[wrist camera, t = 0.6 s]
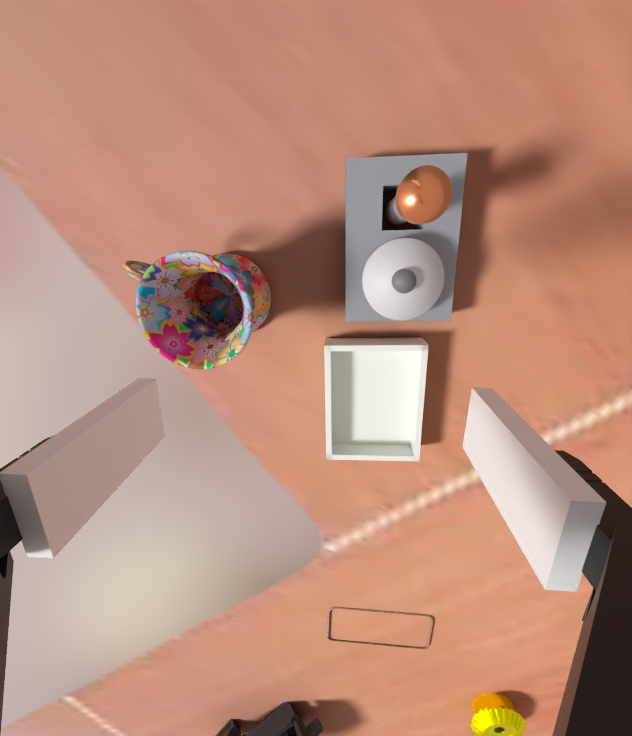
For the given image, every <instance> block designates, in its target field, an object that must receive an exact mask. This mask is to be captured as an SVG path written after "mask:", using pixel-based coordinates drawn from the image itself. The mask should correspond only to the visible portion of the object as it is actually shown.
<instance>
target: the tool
mask: <svg viewBox="0 0 632 736" xmlns="http://www.w3.org/2000/svg"><path fill="white" fill-rule="evenodd" d="M322 732H323V727H322V725H321V723H320V721H319V719H318V718H317V717H316V718H315V719H314V720H313V721H312V722H311V723H310V724H309V725H308V726H307V727H306V728H305V725H304V723H303V721H302V720H301V719H300V717H299V716H298V715H297V713H296V712H295V710H294V709H293V708H292V706H291V705H290V704H289V703H285V702H284V703H283V704H282V705H281V706H280V707H278V708H277V709H276V710H275V711H274V712H273V713H272V714H270V715H269V716H268V717H267V718H266V719H265V720H264V721H262V722H261V723H260V724H259V725H258V726H257V727H256V728H254V729H253V730H252V731H251V732H250V733H249V734H248V735H247V734H243V735H242V736H318V735H319V734H320V733H322ZM216 736H241V732H240V729H239V727H238V726H237V725H236V724H235V723H234V721H233V720H232V719H230V721H229V722H228V723H227V724H226V725H225V726H224V727H223V728H222V729H221V730H220V731H219V733H218V734H217V735H216Z"/></svg>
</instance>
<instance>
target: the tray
mask: <svg viewBox="0 0 632 736" xmlns="http://www.w3.org/2000/svg"><path fill="white" fill-rule="evenodd" d="M428 346H429V345H428V344H427V343H426V341H425V340H424V339H423V338H326V339H325V345H324V353H325V410H326V459H333V460H384V461H419V457H420V445H421V432H422V420H423V408H424V395H425V383H426V371H427V358H428Z"/></svg>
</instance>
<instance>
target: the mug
mask: <svg viewBox="0 0 632 736" xmlns="http://www.w3.org/2000/svg"><path fill="white" fill-rule="evenodd" d="M123 270H124V272H125V273H126V274H127V275H128V276H130V277H131V278H133V279H135V280H137V281H139V282H140V284H139V287H138V290H137V296H136V310H137V316H138V320H139V323H140V326H141V328H142V330H143V332H144V334H145V336H146V338H147V339H148V341H149V342H150V343H151V345H152V346H153V347H154V348H155V349H156V350H157V351H158V352H159V353H160V354H161V355H163V356H164V357H165V358H167V359H168V360H170V361H172V362H174V363H176V364H178V365H181V366H183V367H187V368H192V369H212V368H216V367H219V366H222V365H224V364H226V363H228V362H230V361H231V360H233V359H234V358H235V357H236V356H237V355H238V354H239V353H240V352H241V351H242V350H243V349H244V347H245V346H246V344H247V342H248V340H249V338H250V335H251V332H253V331H255V330H256V329H257V328H258V327H260V326H261V324H262V323H263V322H264V321H265V319H266V317H267V315H268V313H269V310H270V305H271V292H270V288H269V284H268V282H267V279H266V277H265V276H264V274H263V273H262V271H261V270H260V269H259V268H258V267H257V266H256V265H255V264H254V263H253V262H252V261H250V260H248V259H247V258H245V257H242V256H240V255H236V254H230V253H223V254H218V255H214V256H211V255H208V254H205V253H201V252H196V251H180V252H174V253H171V254H168V255H165V256H164V257H162V258H160V259H158V260H157V261H156V262H154V263H153V264H152V265H150V264H146V263H142V262H137V261H126V262H125V263H124V266H123ZM137 270H140V271H144V272H145V274H143V273H141V272H139V271H137Z"/></svg>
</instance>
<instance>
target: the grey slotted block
mask: <svg viewBox="0 0 632 736" xmlns="http://www.w3.org/2000/svg"><path fill="white" fill-rule="evenodd" d="M467 155H468V153H452V154H430V155H407V156H384V157H362V158H346V243H345V322H366V321H451V315H452V305H453V295H454V285H455V275H456V265H457V255H458V245H459V235H460V225H461V215H462V205H463V195H464V185H465V175H466V165H467ZM424 165H432V166H436V167H438V168H440V169H441V170H443V171H444V172H445V173H446V174H447V176H448V177H449V179H450V182H451V186H452V197H451V201H450V204H449V206H448V208H447V209H446V211H445V212H444V213H443V214H442V215H441V216H440V217H439V218H438V219H436V220H434V221H432V222H429V223H425V224H417V229H416V230H384V231H382V207H383V190H397V188H398V186H399V184H400V182H401V181H402V180H403V179H404V177H405V176H406V175H407V174H408V173H409V172H411V171H412V170H413V169H415V168H417V167H420V166H424Z"/></svg>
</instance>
